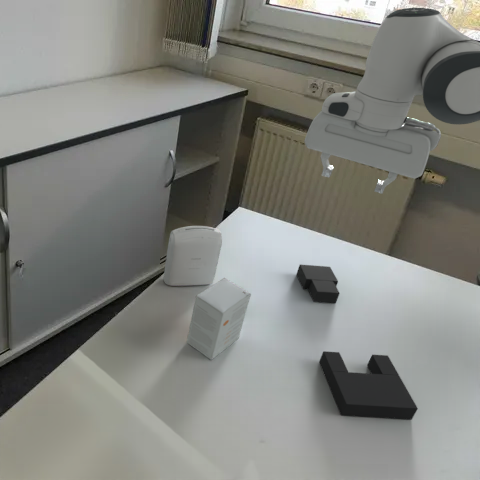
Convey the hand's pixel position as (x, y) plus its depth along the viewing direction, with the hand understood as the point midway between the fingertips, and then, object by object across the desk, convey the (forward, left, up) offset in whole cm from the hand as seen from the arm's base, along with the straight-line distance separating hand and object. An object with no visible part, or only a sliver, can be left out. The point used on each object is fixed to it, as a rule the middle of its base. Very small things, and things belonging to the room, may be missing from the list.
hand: (351, 183), depth 99 cm
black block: (+2, +3, -23) cm, 23 cm away
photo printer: (+25, -10, -23) cm, 35 cm away
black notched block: (+15, +25, -23) cm, 37 cm away
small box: (+31, +6, -23) cm, 39 cm away
